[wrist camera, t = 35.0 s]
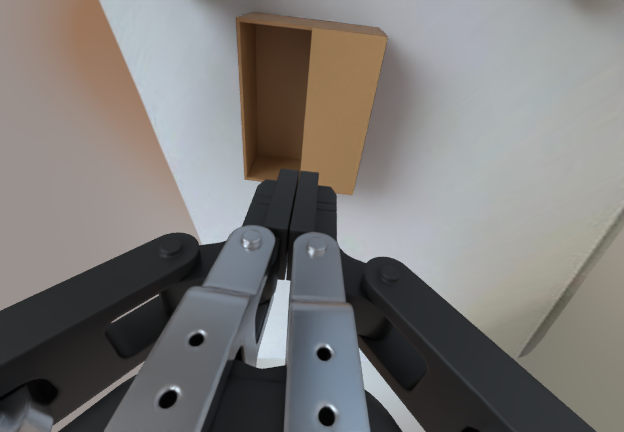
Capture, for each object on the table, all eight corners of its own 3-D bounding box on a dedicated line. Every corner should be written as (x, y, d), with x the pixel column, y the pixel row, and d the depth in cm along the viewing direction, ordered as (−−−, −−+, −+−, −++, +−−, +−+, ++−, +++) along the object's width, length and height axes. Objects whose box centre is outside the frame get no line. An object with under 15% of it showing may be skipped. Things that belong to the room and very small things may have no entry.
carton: (252, 12, 29) (235, 16, 24) (378, 27, 29) (387, 35, 24) (256, 155, 39) (244, 179, 34) (350, 166, 39) (352, 192, 34)
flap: (312, 27, 24) (312, 28, 24) (387, 36, 24) (387, 37, 24) (299, 187, 33) (298, 188, 33) (352, 193, 33) (352, 195, 33)
